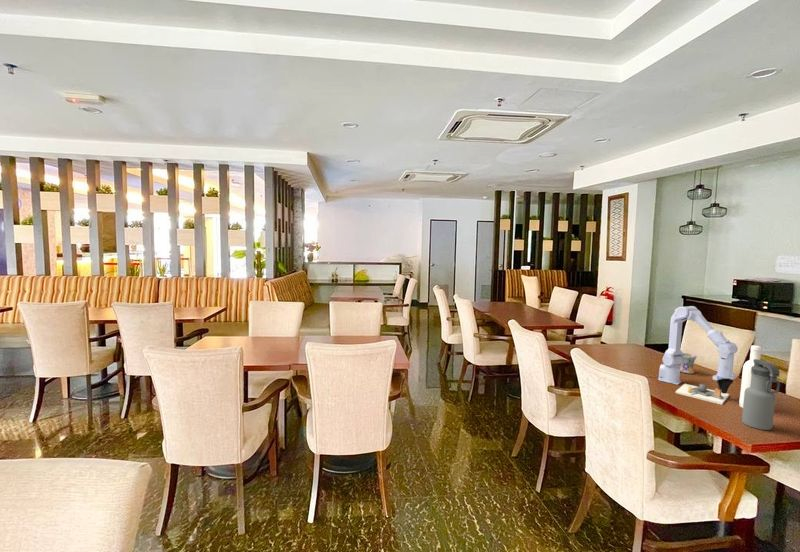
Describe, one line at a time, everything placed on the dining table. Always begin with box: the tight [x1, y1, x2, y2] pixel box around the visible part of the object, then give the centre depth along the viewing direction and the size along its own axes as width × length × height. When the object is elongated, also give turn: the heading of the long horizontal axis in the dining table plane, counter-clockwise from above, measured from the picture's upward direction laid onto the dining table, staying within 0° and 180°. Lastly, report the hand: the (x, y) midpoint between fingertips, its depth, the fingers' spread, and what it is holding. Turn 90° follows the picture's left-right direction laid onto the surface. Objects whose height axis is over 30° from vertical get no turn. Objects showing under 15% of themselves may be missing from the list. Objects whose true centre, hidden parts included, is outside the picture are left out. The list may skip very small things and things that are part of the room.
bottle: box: [738, 344, 765, 409], centre depth 187 cm, size 8×8×30 cm
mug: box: [680, 352, 698, 375], centre depth 242 cm, size 12×9×11 cm
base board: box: [675, 383, 730, 406], centre depth 204 cm, size 19×18×5 cm
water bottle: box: [741, 359, 781, 431], centre depth 168 cm, size 10×10×28 cm
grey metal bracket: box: [692, 386, 724, 399], centre depth 202 cm, size 13×8×4 cm, turn 22°
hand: (723, 392), depth 199 cm, fingers closed
